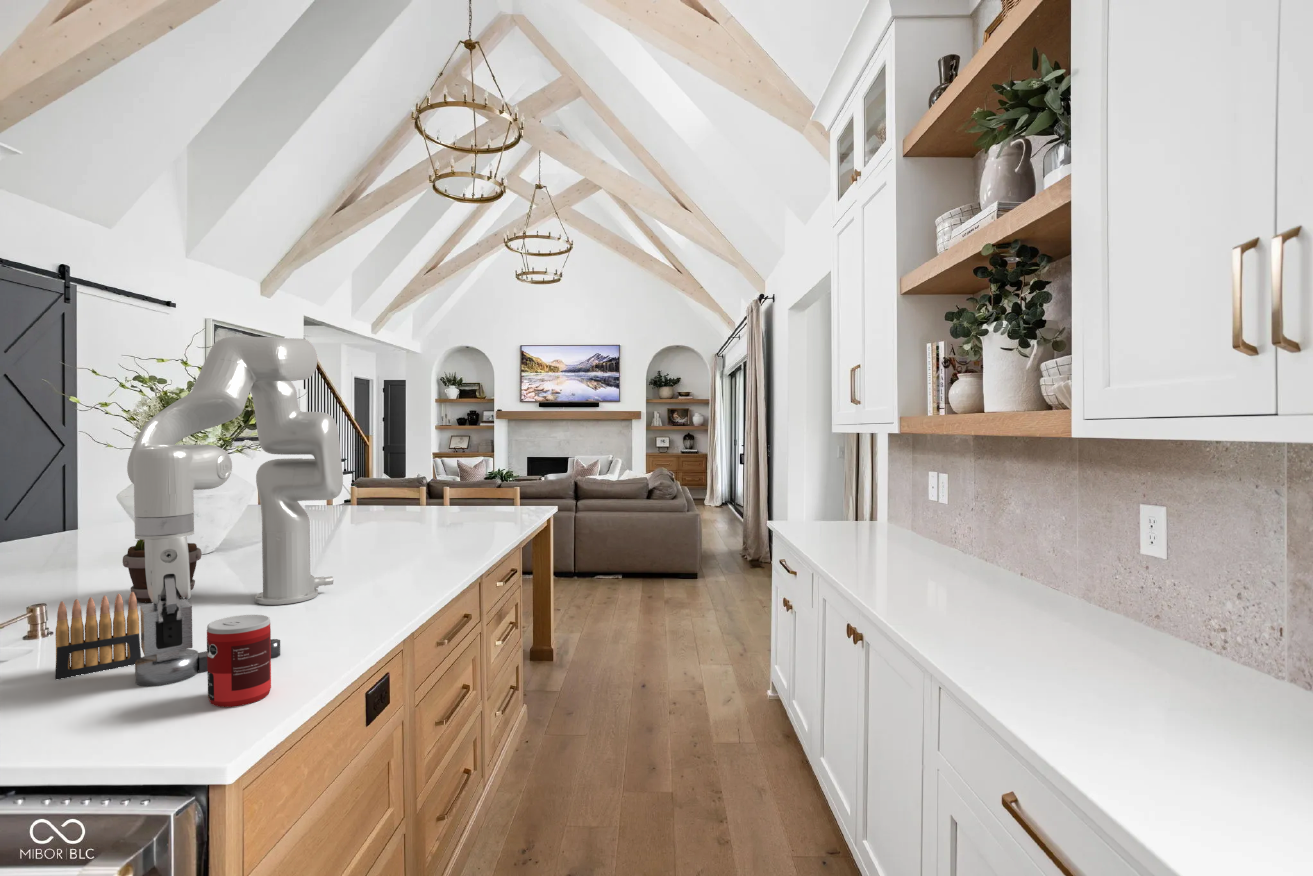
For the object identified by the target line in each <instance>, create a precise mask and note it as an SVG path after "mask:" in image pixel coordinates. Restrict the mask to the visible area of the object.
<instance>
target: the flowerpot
mask: <svg viewBox="0 0 1313 876" xmlns="http://www.w3.org/2000/svg"><path fill="white" fill-rule="evenodd" d="M188 552H189V570H190V589H191V591H192V590H194V588H195V584H196V579H194V576H195V572H196V568H197V567H196V566H197V563H198V562H197V561H200V560H201V559H202V550H201V548H199V547H198V545H197V544H196V543H194V542H193V543H192V542H188ZM122 565H123V567H124V568H127V569H128V572H129V573H128V574H129V576H130V580H131V583H132V586H131V587H130V593H131V592H134V594H135V596H136V600H137V602H140V603H149V602H150V603H153V602H152V601H151V599H150V597H149V594H148V589H147V582H146V570H145V540H141V539H136V544H135V545H133V546H129V547H128V549H127V553H125V554H124V555H123V556H122ZM179 597H180V599H183V598H182V597H181V595H180V594H179Z"/></svg>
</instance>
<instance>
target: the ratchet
mask: <svg viewBox="0 0 1313 876" xmlns="http://www.w3.org/2000/svg"><path fill="white" fill-rule="evenodd" d="M280 656H281V640H280V639H277V638H272V639H271V660H272V659H275V658H278V657H280ZM134 671H135V672H134V675H135V677H134V678H135V679H134V682H135V684H136V685H138V686H141V687H159V686H166V685H172V684H176V683H179V682H183V681H186V680H188V679H190V678H193V677H195V676H196V675H197V674H198V673H199V674H201V673H207V650H206V651H201V652H198V651H197V650H196V649H193V648H189V649H183V650H178V651H172V652H167V653H161V654H155V655H150V656H144V655H143V656H141V658H140V659H138V660H136V662H135V665H134Z"/></svg>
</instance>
